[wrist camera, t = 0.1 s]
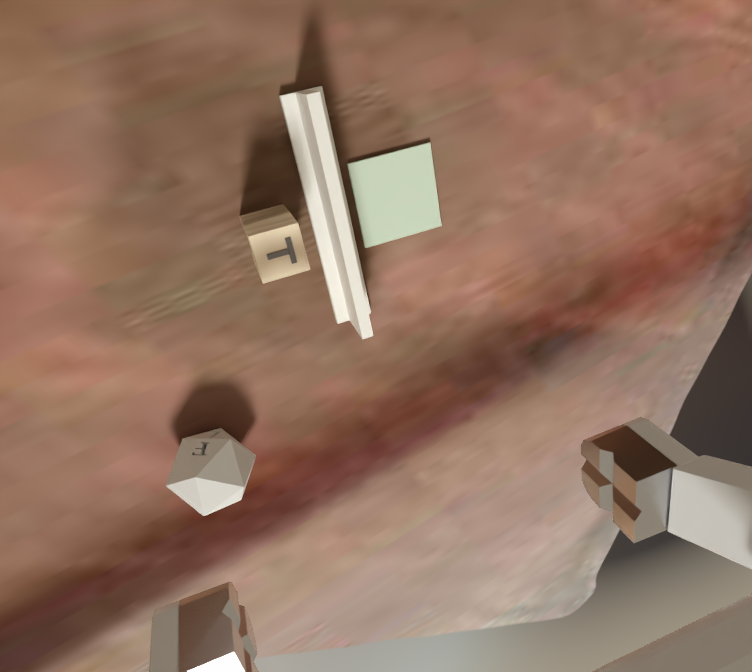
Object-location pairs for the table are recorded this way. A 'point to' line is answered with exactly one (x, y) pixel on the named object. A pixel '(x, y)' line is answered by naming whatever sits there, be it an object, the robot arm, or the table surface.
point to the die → (211, 471)
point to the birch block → (275, 243)
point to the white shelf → (327, 205)
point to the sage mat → (395, 194)
